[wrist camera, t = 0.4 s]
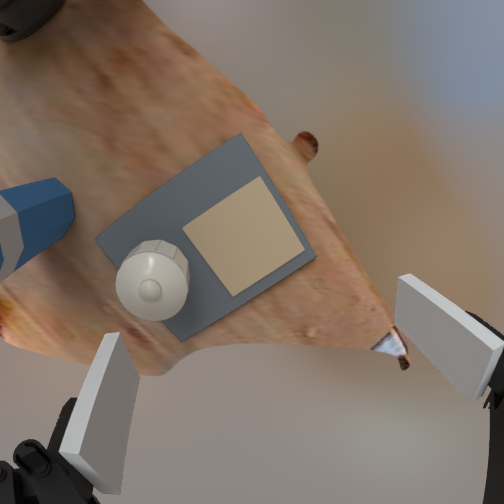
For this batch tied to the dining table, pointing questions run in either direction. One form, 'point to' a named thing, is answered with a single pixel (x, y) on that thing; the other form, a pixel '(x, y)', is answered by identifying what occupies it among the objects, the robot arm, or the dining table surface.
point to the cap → (153, 280)
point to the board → (216, 233)
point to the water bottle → (32, 221)
